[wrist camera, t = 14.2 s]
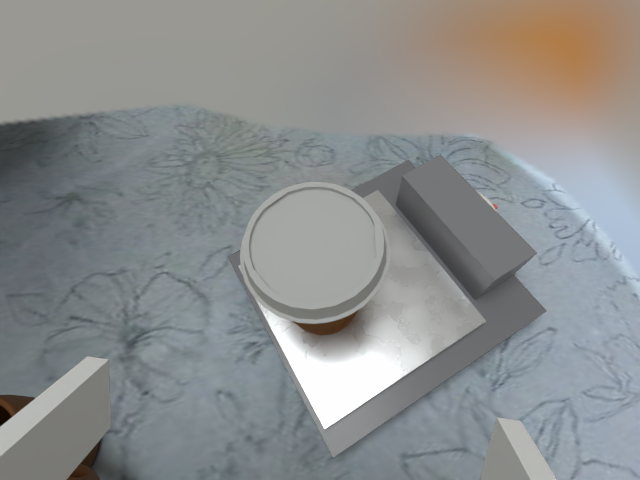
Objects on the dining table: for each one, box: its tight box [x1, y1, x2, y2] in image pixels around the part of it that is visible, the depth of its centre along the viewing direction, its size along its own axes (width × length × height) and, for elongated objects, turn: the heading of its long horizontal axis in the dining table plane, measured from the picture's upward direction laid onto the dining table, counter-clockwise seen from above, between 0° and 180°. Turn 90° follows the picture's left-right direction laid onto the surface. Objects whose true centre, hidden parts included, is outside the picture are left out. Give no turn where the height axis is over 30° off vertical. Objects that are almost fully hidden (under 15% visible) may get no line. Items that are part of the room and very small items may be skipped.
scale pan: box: [238, 190, 486, 429], centre depth 34 cm, size 16×16×1 cm
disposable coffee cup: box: [240, 182, 390, 335], centre depth 28 cm, size 10×10×12 cm
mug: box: [0, 395, 99, 480], centre depth 28 cm, size 12×8×9 cm, turn 73°
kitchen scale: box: [228, 155, 546, 458], centre depth 34 cm, size 20×22×8 cm
